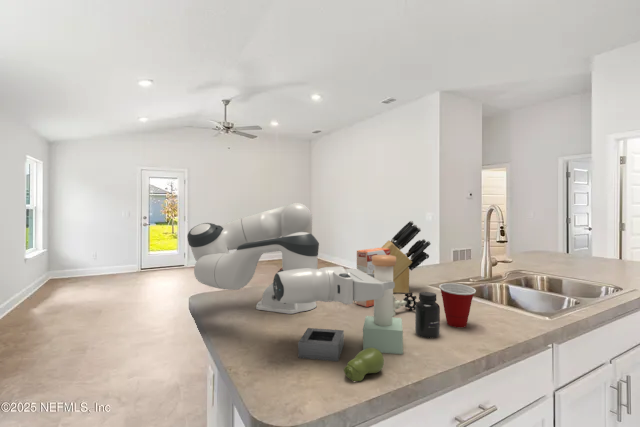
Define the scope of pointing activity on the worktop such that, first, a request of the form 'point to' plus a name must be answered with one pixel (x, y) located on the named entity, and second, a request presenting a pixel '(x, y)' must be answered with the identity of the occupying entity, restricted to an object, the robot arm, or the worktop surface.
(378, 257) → the end plug
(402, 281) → the knife block
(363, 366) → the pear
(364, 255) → the cracker box
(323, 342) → the block
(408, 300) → the valve
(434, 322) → the supplement bottle
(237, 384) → the worktop surface
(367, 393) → the worktop surface
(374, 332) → the parts stand
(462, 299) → the plastic cup
